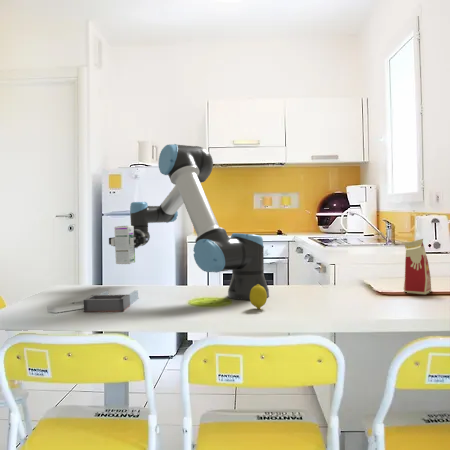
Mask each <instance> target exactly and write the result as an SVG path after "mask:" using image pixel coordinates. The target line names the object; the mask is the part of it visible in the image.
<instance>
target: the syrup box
mask: <svg viewBox="0 0 450 450" xmlns="http://www.w3.org/2000/svg"><path fill="white" fill-rule="evenodd" d="M113 228H114V237H115V246H114V249H115V252H114V253H115V264H116V265H130V264H131V265H132V264H133V263H136V253H135V252H136V251H135V250H136V248H135V246H134V245H132V246H130V238H133V237H134V226H131V225H118V226H114V227H113Z"/></svg>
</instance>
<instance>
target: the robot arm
mask: <svg viewBox="0 0 450 450" xmlns="http://www.w3.org/2000/svg"><path fill="white" fill-rule="evenodd" d="M157 165H158V170H159V171H160V173H161V175H163V176H168V177H169V179H170V183H171V184H173V185H174V187H173V188H172V189H171V191H170V192H169V193H168V195H167V196H166V197H165V198H164V200H163V201H162V202H161V203H160V205H148V202H147V201H133V202H131V203H130V207H129V213H130V214H129V216H130V226H134V237H133V238H130V246H132V245H134V246H135V249H138V248H139V247H143V246H145V245H146V244H147V243H148V242H149V241H150V238H151V235H150V232H149V224H153V223H159V224H160V223H166V224H168V223H172V222H173V223H174V222H175V221H176V220H177V217H178V214H179V213H178V211H179V209H180V208H181V207H182V205H184V207H185V210H186V211H187V215H188V217H189V219H190V222H191V223H192V226H193V229H194V231H195V234H196V236H197V237H195V241H194V242H195V244H194V246H193V249H192V250H193V258H194V261H195V264H196V265H197V266H198V268H200V270H202V272H206V273H220V272H226V271H232V273H231V274H232V275H231V278H230V282H229V285H228V289H227V297H228V298H230V299H233V300H241V301H242V300H247V301H248V300H249V301H250V291H251V289H252V288H253V287H254V286H256V285H257V284H259V285H260V286H262V287H264V288H265V290H266V293H267V298H269V297H270V290H269V287H268V284H267V283H268V282H267V281H266V278H265V274H264V273H265V272H264V270H265V269H264V268H265V265H264V264H265V263H264V260H265V259H264V258H265V257H264V256H265V255H264V251H265V249H264V248H265V247H264V239H263V237H262V236H261V235H258V234H253V233H252V234H249V233H238V232H237V233H231V236H230V237H229V235H228V233H227V231H226V228H224V227H221V226H220V225H219V223H218V221H217V218H216V216H215V214H214V212H213V209H212V206H211V204H210V202H209V199H208V197H207V195H206V193H205V191H204V188H203V185H202V183H205V182H206V180H207V179H208V178H209V177H210V175H211V174H212V173H213V172H212V171H213V168H214V161H213V156H212V155H211V153H210V152H209V151H208V150H207V149H206V148H204V147H202V146H198V145H185V144H176V143H174V144H166V145H164V147H162V149H161V151H160V153H159V156H158V164H157ZM108 245H109V246H111V247H115V236H113V237H109V238H108Z"/></svg>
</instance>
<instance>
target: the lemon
mask: <svg viewBox="0 0 450 450" xmlns="http://www.w3.org/2000/svg"><path fill="white" fill-rule="evenodd" d="M267 299H268V297H267V293H266V290H265V288H264V287H262V286H260V285H259V284H257V285H256V286H254V287H253V288H252V289H251V291H250V300H249V301H250V303H251V305H252V306H254V307H255V308H256V309H257V310H259V309H261V308H262V307H263V306H265V305H266V303H267Z"/></svg>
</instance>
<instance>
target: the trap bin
mask: <svg viewBox="0 0 450 450" xmlns="http://www.w3.org/2000/svg"><path fill="white" fill-rule="evenodd" d="M130 307H131V305H130V295H129V294H108V295H99V294H92V295H90V296H88V297H86V298H84V299H83V313H111V312H112V313H116V312H117V313H119V312H120V313H123V312H125V311H126V310H127V309H129V308H130Z"/></svg>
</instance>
